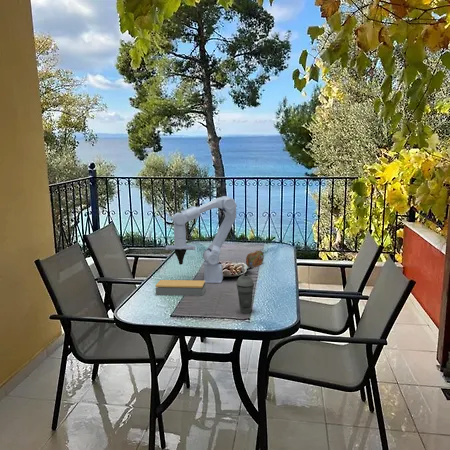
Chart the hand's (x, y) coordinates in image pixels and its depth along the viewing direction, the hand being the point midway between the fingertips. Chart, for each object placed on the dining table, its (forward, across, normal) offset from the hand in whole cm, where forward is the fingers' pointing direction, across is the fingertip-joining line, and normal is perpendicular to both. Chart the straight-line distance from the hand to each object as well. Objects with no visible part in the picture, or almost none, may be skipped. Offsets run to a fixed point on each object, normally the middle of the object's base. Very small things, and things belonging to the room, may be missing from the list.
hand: (181, 264), depth 212 cm
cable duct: (+10, -2, +12) cm, 16 cm away
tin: (+10, -35, -34) cm, 50 cm away
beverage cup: (+10, -34, +34) cm, 49 cm away
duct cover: (+7, -2, +12) cm, 14 cm away
